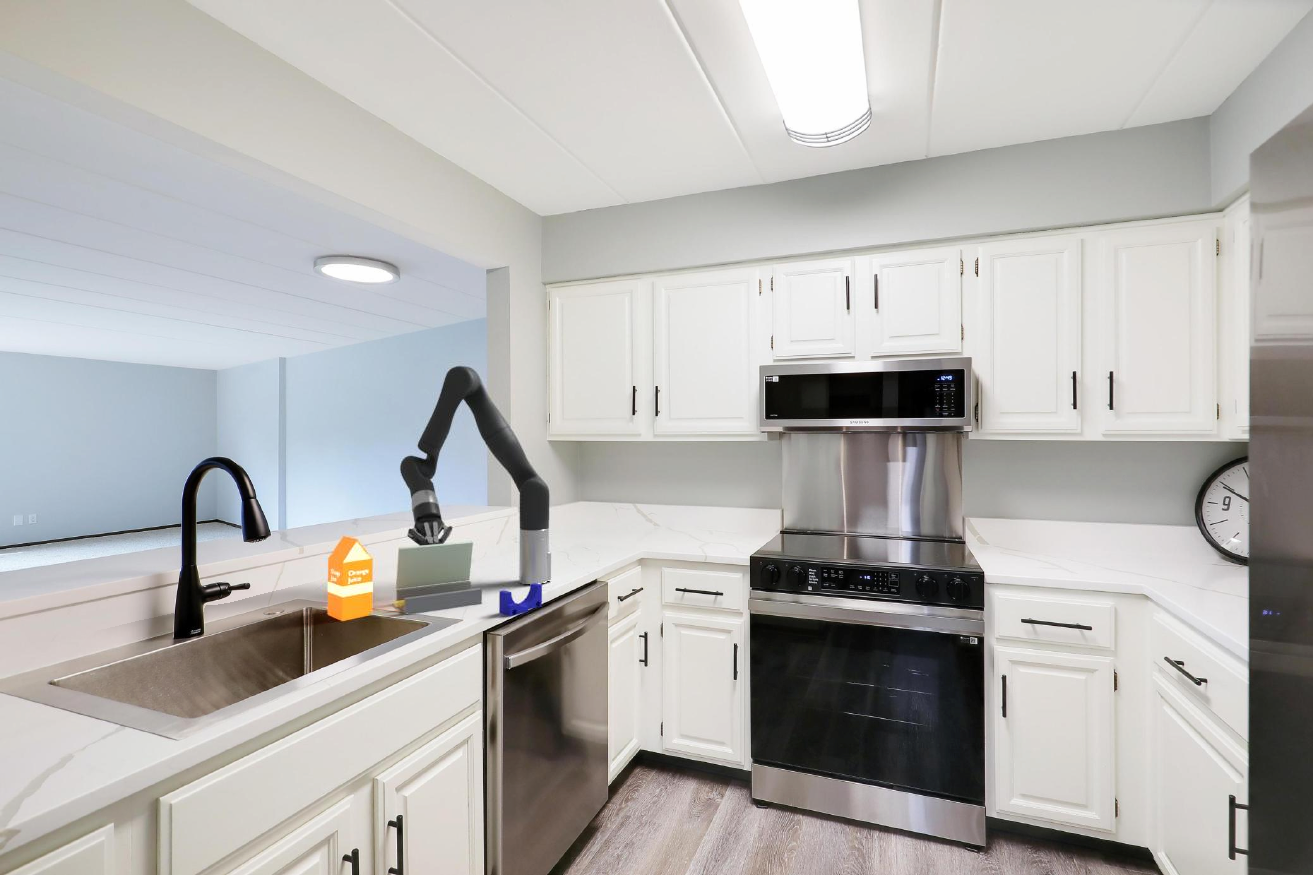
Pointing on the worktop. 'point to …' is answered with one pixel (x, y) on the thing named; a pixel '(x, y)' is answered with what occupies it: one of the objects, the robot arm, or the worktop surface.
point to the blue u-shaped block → (529, 602)
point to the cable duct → (437, 597)
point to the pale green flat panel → (433, 564)
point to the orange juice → (350, 580)
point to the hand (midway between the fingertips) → (435, 556)
